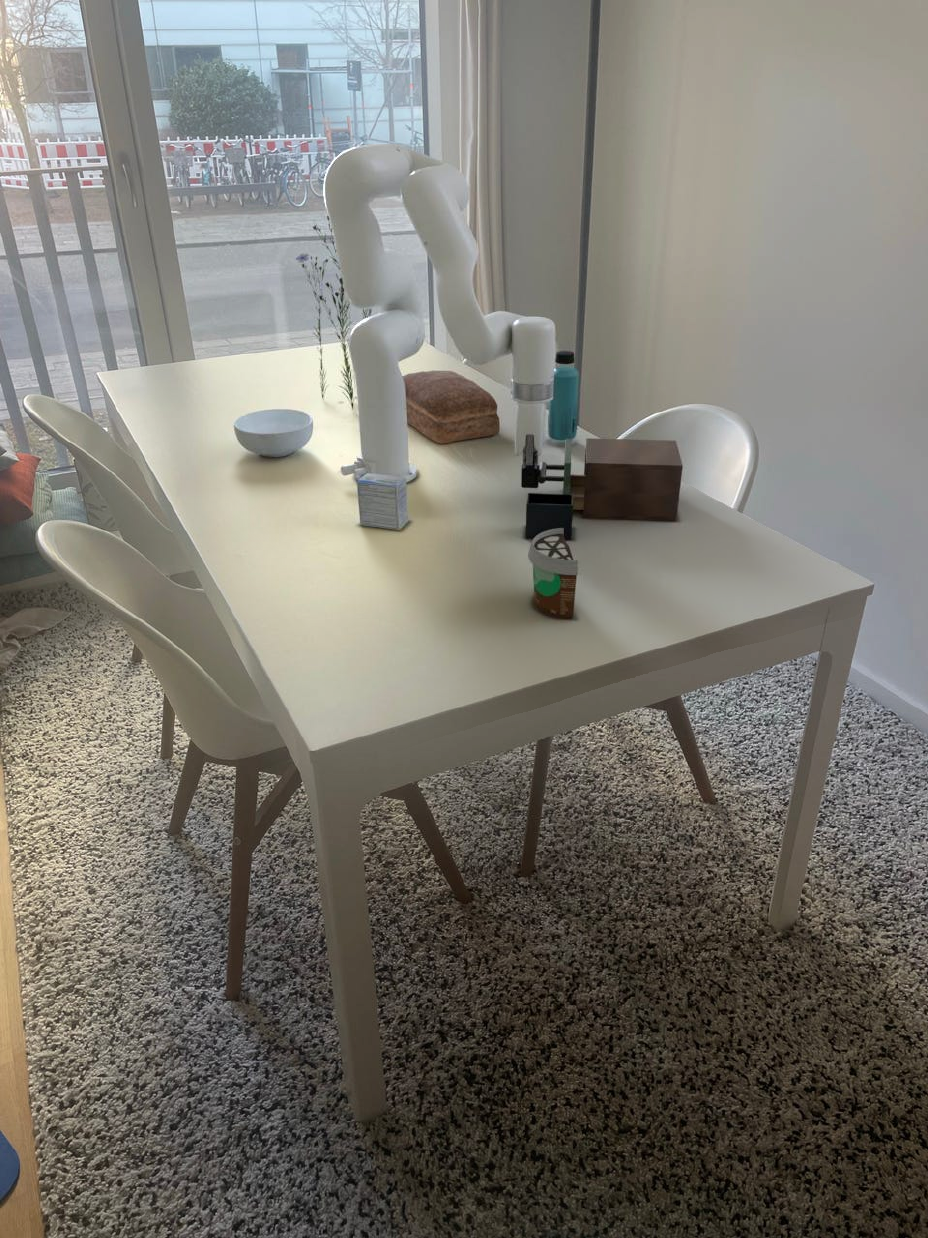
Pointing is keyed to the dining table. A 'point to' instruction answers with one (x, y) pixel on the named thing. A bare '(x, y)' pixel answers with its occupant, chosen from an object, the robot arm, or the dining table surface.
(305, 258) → the wildflower
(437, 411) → the bread
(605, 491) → the cabinet
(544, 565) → the food container
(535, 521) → the dark glass display case
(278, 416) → the cereal bowl
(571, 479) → the drawer
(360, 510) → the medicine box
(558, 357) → the beverage bottle
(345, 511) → the dining table surface
